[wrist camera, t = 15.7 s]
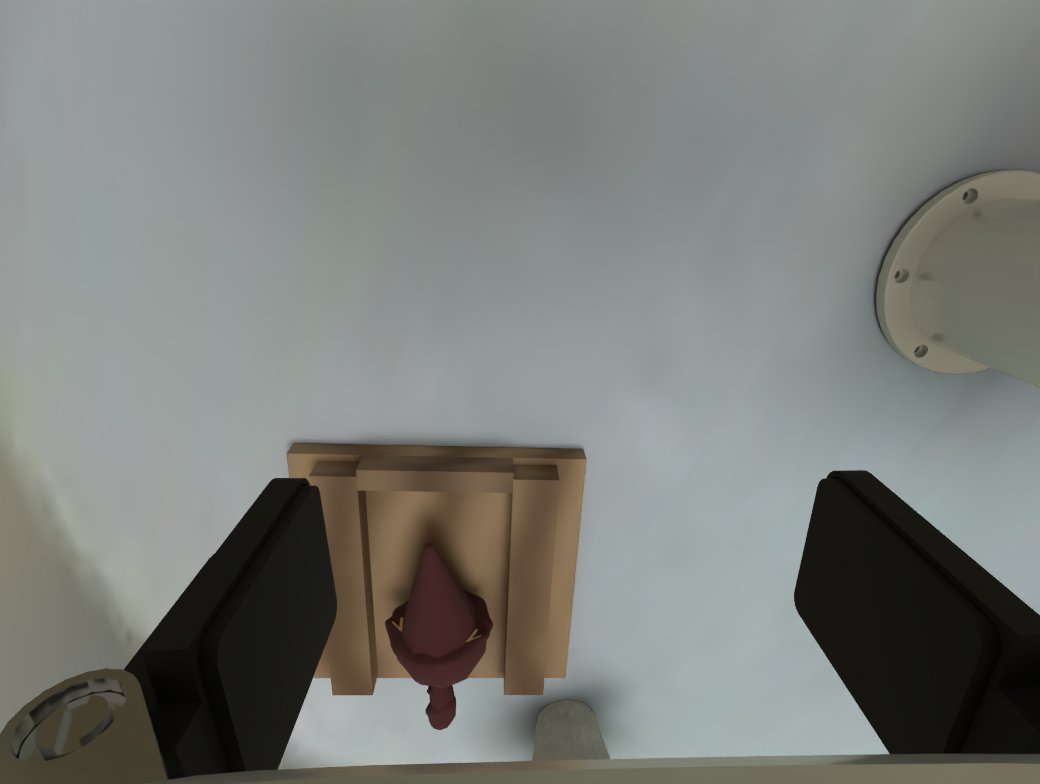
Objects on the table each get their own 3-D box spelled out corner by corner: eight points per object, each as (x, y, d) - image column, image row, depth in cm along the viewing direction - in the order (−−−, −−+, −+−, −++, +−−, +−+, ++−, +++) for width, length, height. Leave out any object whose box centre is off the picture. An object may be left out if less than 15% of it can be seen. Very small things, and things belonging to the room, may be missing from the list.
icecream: (348, 578, 33) (385, 734, 40) (468, 595, 32) (485, 754, 38) (396, 505, 39) (420, 651, 46) (498, 516, 38) (508, 666, 44)
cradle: (583, 449, 39) (590, 474, 36) (563, 662, 47) (568, 699, 44) (294, 443, 38) (275, 468, 35) (320, 662, 46) (306, 700, 43)
